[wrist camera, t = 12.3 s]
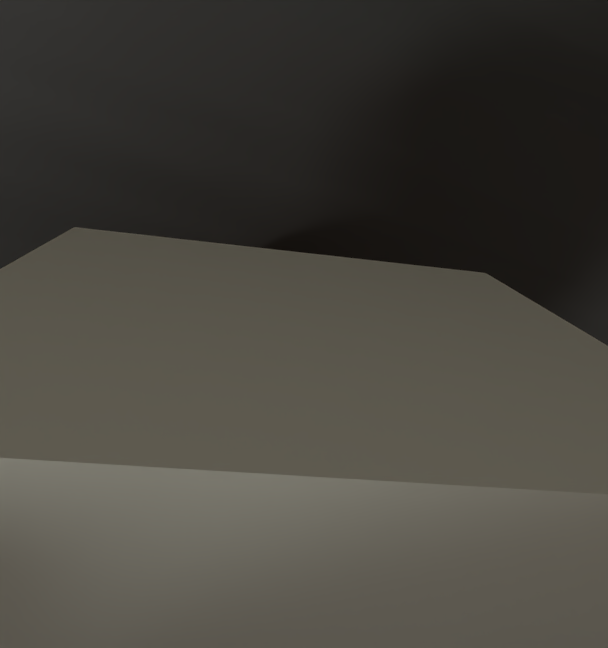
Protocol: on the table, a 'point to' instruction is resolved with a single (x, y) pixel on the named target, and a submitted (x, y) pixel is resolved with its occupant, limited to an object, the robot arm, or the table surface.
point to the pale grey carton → (293, 453)
